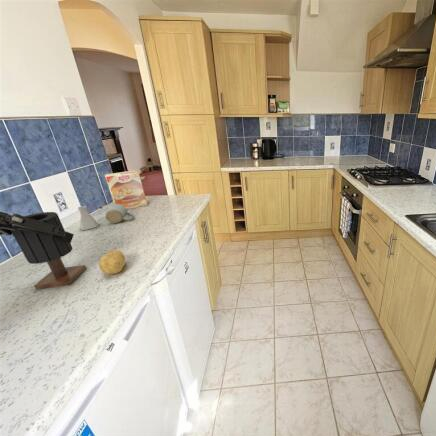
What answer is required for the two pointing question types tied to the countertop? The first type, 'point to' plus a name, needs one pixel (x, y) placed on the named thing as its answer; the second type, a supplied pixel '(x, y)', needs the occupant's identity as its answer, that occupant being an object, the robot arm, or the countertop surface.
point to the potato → (112, 262)
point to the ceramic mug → (118, 213)
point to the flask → (86, 219)
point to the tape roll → (41, 241)
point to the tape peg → (60, 275)
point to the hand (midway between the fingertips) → (55, 238)
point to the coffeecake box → (126, 189)
